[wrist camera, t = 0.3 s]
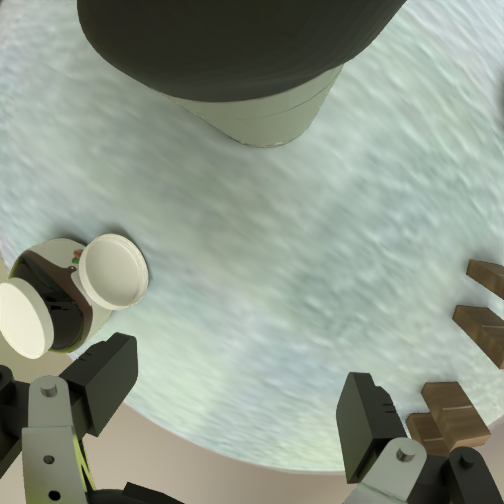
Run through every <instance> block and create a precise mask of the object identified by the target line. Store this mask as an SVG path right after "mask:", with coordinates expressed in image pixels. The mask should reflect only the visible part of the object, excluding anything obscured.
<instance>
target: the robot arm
mask: <svg viewBox="0 0 504 504" xmlns="http://www.w3.org/2000/svg"><path fill="white" fill-rule="evenodd" d="M406 1H407V0H77V10H78V16H79V21H80V24H81V27H82V30H83V32H84V34H85V36H86V38H87V40H88V41H89V42H90V44H91V45H92V47H93V48H94V49H95V50H96V51H97V52H98V53H99V54H100V55H101V56H102V57H103V58H104V59H105V60H106V61H107V62H109V63H110V64H111V65H112V66H114V67H115V68H117V69H118V70H120V71H122V72H123V73H125V74H127V75H128V76H130V77H132V78H133V79H135V80H137V81H139V82H141V83H143V84H144V85H146V86H148V87H149V88H151V89H153V90H155V91H156V92H158V93H160V94H162V95H163V96H165V97H167V98H168V99H170V100H172V101H174V102H175V103H177V104H179V105H181V106H182V107H184V108H186V109H187V110H189V111H190V112H192V113H194V114H195V115H197V116H199V117H200V118H202V119H203V120H205V121H207V122H208V123H210V124H211V125H213V126H214V127H216V128H217V129H219V130H221V131H222V132H224V133H225V134H227V135H228V136H229V137H230V138H232V139H234V140H236V141H238V142H241V143H243V144H245V145H249V146H254V147H266V148H269V147H275V146H280V145H283V144H285V143H288V142H290V141H292V140H294V139H295V138H297V137H298V136H300V135H301V134H302V133H303V132H304V131H305V130H306V129H307V128H308V127H309V125H310V124H311V122H312V120H313V119H314V117H315V116H316V114H317V112H318V110H319V109H320V107H321V105H322V103H323V102H324V100H325V98H326V96H327V94H328V93H329V91H330V89H331V87H332V85H333V84H334V82H335V80H336V78H337V77H338V75H339V73H340V71H341V69H342V67H343V65H344V63H346V62H347V61H349V60H351V59H353V58H354V57H355V56H357V55H358V54H359V53H360V52H362V51H363V50H364V49H365V48H366V47H367V46H368V45H370V44H371V43H372V41H373V40H374V39H375V38H376V37H377V36H378V35H379V33H380V32H381V31H382V30H383V29H384V27H385V26H386V25H387V24H388V22H389V21H390V20H391V19H392V17H393V16H394V15H395V14H396V12H397V11H398V10H399V9H400V8H401V6H402V5H403V4H404V3H405V2H406ZM137 377H138V358H137V341H136V338H135V337H134V336H130V335H126V334H122V333H119V332H116V333H115V334H113V335H112V336H111V337H110V338H109V339H108V340H107V341H106V342H105V341H101V342H99V343H96V344H94V345H92V346H90V347H89V348H88V349H87V350H86V351H85V352H84V353H83V354H82V355H81V356H79V357H78V359H76V360H75V361H74V362H73V363H72V364H71V365H70V366H69V367H67V369H65V370H64V371H63V372H62V373H61V374H60V375H59V376H53V375H47V376H42V377H39V378H36V379H35V380H34V381H33V382H32V383H31V384H29V383H25V382H20V381H15V380H14V377H13V374H12V371H11V370H10V369H9V368H8V367H6V366H4V365H0V479H1V478H2V476H3V475H4V474H5V472H6V471H7V469H8V468H9V467H10V465H11V464H12V463H13V462H14V460H15V459H16V457H17V456H18V455H19V454H20V452H21V451H22V461H23V476H24V488H25V496H26V504H184V503H182V502H180V501H178V500H176V499H174V498H172V497H170V496H168V495H166V494H164V493H161V492H158V491H155V490H151V489H148V488H145V487H142V486H138V485H136V484H132V483H130V482H127V484H126V486H125V488H124V490H119V489H101V490H96V487H95V484H94V481H93V478H92V474H91V471H90V467H89V463H88V459H87V455H86V450H85V446H84V442H83V437H84V435H85V434H86V433H88V434H91V435H93V436H95V437H98V436H99V434H100V433H101V431H102V430H103V428H104V427H105V426H106V424H107V423H108V421H109V420H110V418H111V417H112V416H113V414H114V413H115V411H116V410H117V409H118V407H119V406H120V404H121V403H122V401H123V400H124V399H125V397H126V396H127V394H128V393H129V392H130V390H131V389H132V387H133V386H134V385H135V383H136V380H137ZM396 412H397V411H396V409H395V406H393V402H392V400H391V397H390V395H389V394H388V393H387V392H386V391H385V390H384V389H383V388H382V387H381V386H375V384H374V382H373V379H372V377H371V375H370V373H358V372H350V373H349V374H348V376H347V379H346V382H345V385H344V388H343V390H342V393H341V396H340V399H339V402H338V405H337V410H336V420H337V426H338V431H339V437H340V442H341V448H342V454H343V460H344V466H345V472H346V478H347V483H348V484H353V483H359V484H358V485H357V486H356V487H355V489H354V490H353V491H352V492H351V494H350V495H349V496H348V497H347V499H346V500H345V501H344V502H343V503H342V504H504V502H503V500H502V498H501V495H500V493H499V491H498V489H497V486H496V484H495V482H494V480H493V478H492V476H491V473H490V472H489V469H488V467H487V466H486V464H485V461H484V459H483V457H482V456H481V454H480V453H479V452H478V451H476V450H475V449H473V448H470V447H466V446H460V447H457V448H455V449H453V450H452V451H451V453H450V454H449V456H448V457H443V456H435V455H429V454H427V453H426V450H425V448H424V447H423V446H422V445H421V444H420V443H419V442H417V441H415V440H413V439H410V438H408V437H407V434H406V432H405V430H404V427H403V425H402V423H401V420H400V418H399V416H398V413H396Z"/></svg>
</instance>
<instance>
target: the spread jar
mask: <svg viewBox="0 0 504 504" xmlns="http://www.w3.org/2000/svg"><path fill="white" fill-rule="evenodd" d="M148 278H149V277H148V269H147V265H146V262H145V260H144V257H143V256H142V254H141V252H140V251H139V249H138V248H137V247H136V246H135V245H134V244H133V243H132V242H131V241H130V240H128V239H127V238H125V237H123V236H121V235H117V234H103V235H100V236H98V237H97V238H95V239H94V240H93V241H92V242H91V243H90V244H89V245H85V244H82V243H80V242H77V241H74V240H70V239H63V238H60V239H53V240H50V241H46V242H43V243H41V244H38V245H35V246H33V247H31V248H29V249H27V250H25V251H24V252H23V253H22V254H21V255H20V256H19V257H18V258H17V260H16V261H15V263H14V265H13V267H12V269H11V272H10V275H9V278H8V280H6V281H4V282H2V283H0V330H1V332H2V334H3V336H4V337H5V339H6V340H7V341H8V343H9V344H10V345H11V346H12V347H13V348H14V349H15V350H16V351H17V352H18V353H20V354H21V355H23V356H25V357H27V358H31V359H35V358H38V357H40V356H41V355H42V354H44V353H45V352H46V351H51V352H56V353H70V352H73V351H75V350H77V349H78V348H80V347H81V346H83V345H84V344H85V343H86V342H87V341H88V340H90V339H91V338H92V337H93V336H94V335H95V334H96V333H97V332H98V331H99V330H100V329H101V328H102V326H103V325H104V324H105V323H106V321H107V320H108V318H109V317H110V315H111V313H112V311H113V310H122V309H125V308H127V307H130V306H132V305H134V304H136V303H137V302H139V301H140V300H141V299H142V297H143V296H144V294H145V292H146V290H147V286H148Z"/></svg>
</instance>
